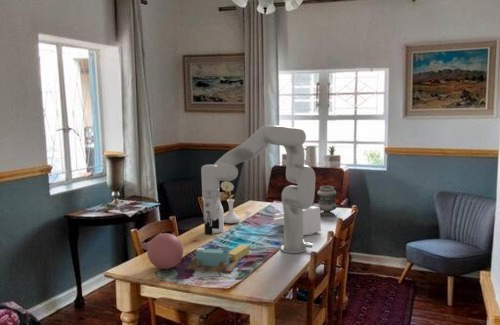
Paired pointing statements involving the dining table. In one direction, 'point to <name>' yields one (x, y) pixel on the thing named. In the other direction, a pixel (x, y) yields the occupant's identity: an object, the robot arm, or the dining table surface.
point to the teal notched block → (212, 256)
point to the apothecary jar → (327, 200)
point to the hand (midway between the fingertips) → (212, 231)
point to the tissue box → (305, 220)
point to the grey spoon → (230, 216)
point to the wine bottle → (220, 222)
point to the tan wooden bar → (239, 252)
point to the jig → (222, 266)
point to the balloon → (164, 250)
